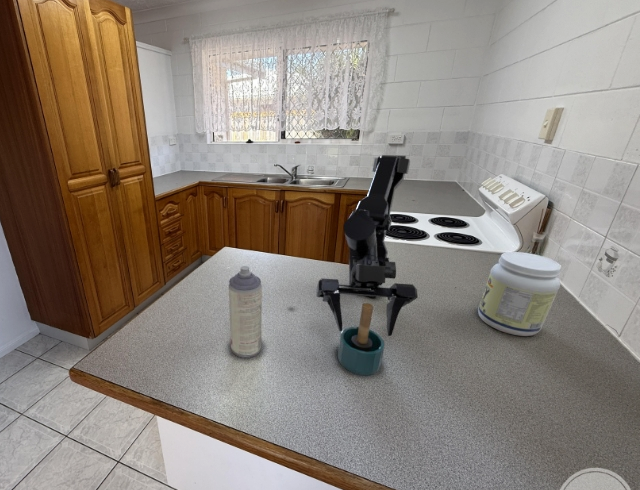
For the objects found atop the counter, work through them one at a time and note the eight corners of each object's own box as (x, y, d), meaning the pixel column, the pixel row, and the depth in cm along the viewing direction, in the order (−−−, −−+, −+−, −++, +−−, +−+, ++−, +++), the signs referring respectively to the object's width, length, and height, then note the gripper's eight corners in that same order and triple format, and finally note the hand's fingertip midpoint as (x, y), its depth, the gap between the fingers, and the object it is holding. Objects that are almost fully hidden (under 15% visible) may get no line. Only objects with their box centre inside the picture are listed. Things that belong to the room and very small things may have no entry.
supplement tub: (481, 303, 85) (501, 246, 78) (542, 322, 77) (568, 259, 70) (471, 322, 77) (491, 260, 70) (537, 345, 69) (566, 278, 62)
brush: (353, 349, 68) (361, 298, 63) (372, 357, 66) (381, 304, 61) (345, 359, 65) (353, 306, 60) (365, 367, 63) (374, 313, 58)
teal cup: (347, 342, 71) (350, 322, 69) (385, 358, 66) (390, 337, 64) (331, 362, 65) (333, 341, 63) (371, 382, 60) (375, 359, 58)
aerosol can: (255, 335, 74) (255, 259, 66) (265, 354, 68) (266, 272, 60) (228, 340, 72) (224, 263, 65) (234, 360, 66) (232, 277, 59)
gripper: (322, 242, 61) (320, 322, 56) (424, 247, 58) (434, 332, 52) (317, 262, 71) (315, 331, 66) (404, 267, 68) (410, 340, 63)
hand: (365, 333), depth 61 cm, fingers open, 9 cm apart
